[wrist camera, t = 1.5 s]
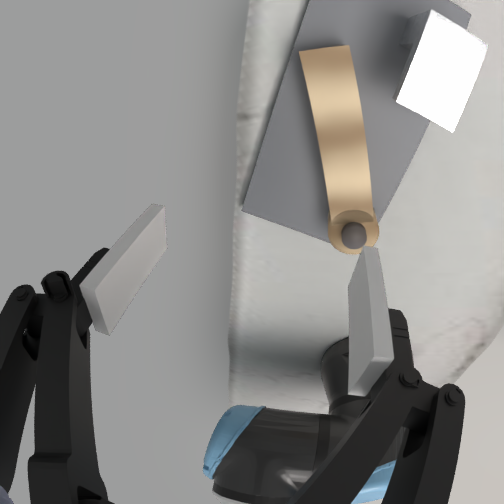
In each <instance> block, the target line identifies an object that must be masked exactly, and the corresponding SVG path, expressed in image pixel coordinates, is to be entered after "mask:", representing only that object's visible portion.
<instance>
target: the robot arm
mask: <svg viewBox="0 0 504 504" xmlns="http://www.w3.org/2000/svg"><path fill="white" fill-rule="evenodd" d="M166 250H167V237H166V220H165V206H162V205H156V204H151V205H150V206H149V207H148V208H147V210H146V211H145V212H144V213H143V214H142V215H141V216H140V217H139V218H138V219H137V220H136V221H135V222H134V223H133V224H132V225H131V226H130V228H129V229H128V230H127V231H126V232H125V233H124V234H123V235H122V236H121V238H120V239H119V240H118V241H117V242H116V243H115V244H114V245H113V246H112V248H111V249H108V248H102V249H101V250H99V251H97V252H96V253H94V255H93V256H92V257H91V258H90V259H89V261H87V262H86V264H85V265H84V267H82V268H81V269H80V271H79V272H78V273H77V274H76V275H75V276H74V277H73V279H72V280H71V281H70V278H69V275H68V274H67V273H66V272H64V271H54V272H51V273H49V274H48V275H46V276H45V277H44V278H43V280H42V282H41V284H42V287H43V290H44V292H45V294H36V293H35V291H34V289H33V287H32V286H31V285H21V286H18V287H17V288H16V289H14V290H13V292H12V293H11V295H10V296H9V298H8V300H7V302H6V304H5V306H4V308H3V310H2V311H1V314H0V504H14V503H13V501H12V500H11V499H10V498H9V496H8V492H9V490H10V488H11V485H12V482H13V478H14V474H15V468H16V463H17V458H18V453H19V447H20V443H21V437H22V434H23V429H24V425H25V421H26V417H27V413H28V409H29V405H30V402H31V398H32V394H33V391H34V387H35V384H36V389H35V417H34V419H35V420H34V429H35V430H34V433H35V435H34V436H35V452H34V455H32V456H31V457H30V458H29V460H28V481H29V492H30V500H31V504H114V503H112V502H110V501H108V496H107V492H106V487H105V485H104V482H103V481H102V478H101V477H100V473H99V468H98V461H97V453H96V446H95V437H94V427H93V416H92V401H91V382H90V381H91V379H90V332H89V329H88V328H89V326H90V325H91V324H92V322H93V325H94V327H95V330H96V331H98V332H101V333H104V334H106V335H109V336H110V334H111V333H112V331H113V330H114V328H115V327H116V325H117V323H118V322H119V320H120V319H121V317H122V315H123V314H124V312H125V311H126V309H127V308H128V306H129V304H130V303H131V302H132V300H133V298H134V297H135V295H136V294H137V292H138V291H139V289H140V288H141V286H142V285H143V283H144V282H145V280H146V279H147V277H148V276H149V274H150V273H151V271H152V270H153V268H154V267H155V266H156V264H157V263H158V261H159V260H160V258H161V257H162V255H163V254H164V253H165V251H166ZM348 298H349V338H347V339H344V340H342V341H340V342H338V343H336V344H335V345H333V346H332V347H331V348H329V349H328V350H327V352H326V353H325V354H324V356H323V359H322V366H321V377H322V381H323V384H324V388H325V391H326V394H327V398H328V401H329V415H328V414H316V413H305V412H295V411H287V410H279V409H271V408H266V407H265V406H261V407H255V406H246V405H236V406H233V407H231V408H230V409H228V410H227V411H226V412H225V413H224V415H223V416H222V417H221V419H220V420H219V422H218V424H217V426H216V428H215V430H214V432H213V434H212V436H211V439H210V441H209V444H208V447H207V450H206V454H205V458H204V467H203V472H204V474H205V475H206V476H207V477H209V478H210V479H214V485H213V490H212V491H213V494H214V495H215V496H216V497H217V499H218V500H219V501H220V503H221V504H358V503H364V502H369V501H374V500H378V499H382V498H383V501H382V503H381V504H448V500H449V496H450V492H451V488H452V484H453V480H454V475H455V470H456V465H457V460H458V454H459V448H460V442H461V435H462V428H463V419H464V409H465V396H464V394H463V392H462V390H461V389H459V387H458V386H456V385H454V384H445V385H443V386H442V387H441V388H437V387H435V386H433V385H430V384H428V383H426V382H424V381H423V380H422V376H421V375H420V373H419V371H417V370H416V369H415V368H414V362H413V354H412V350H411V344H410V339H409V332H408V326H407V320H406V318H405V317H404V315H403V313H402V312H401V311H400V310H395V309H389V308H388V305H387V298H386V292H385V286H384V280H383V274H382V268H381V263H380V257H379V252H378V248H374V247H369V246H365V245H363V248H362V251H361V254H360V256H359V259H358V262H357V264H356V267H355V270H354V272H353V275H352V278H351V280H350V283H349V285H348ZM24 331H25V332H24ZM23 333H24V334H23Z"/></svg>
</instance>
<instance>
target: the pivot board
mask: <svg viewBox="0 0 504 504" xmlns="http://www.w3.org/2000/svg"><path fill="white" fill-rule="evenodd" d="M431 9H432V10H434V11H435V12H437V13H439V14H441V15H442V16H444V17H446V18H447V19H449V20H451V21H452V22H454V23H456V24H457V25H459V26H460V27H462V28H464V29H465V30H466V29H467V26H468V23H469V20H470V17H471V14H470V13H468V12H467V11H465V10H464V9H462V8H460V7H459V6H457V5H456V4H454V3H452V2H451V1H449V0H310V1H309V3H308V6H307V9H306V12H305V15H304V18H303V21H302V24H301V27H300V30H299V33H298V36H297V39H296V41H295V44H294V47H293V50H292V53H291V56H290V59H289V62H288V65H287V68H286V71H285V74H284V78H283V81H282V84H281V87H280V90H279V93H278V96H277V99H276V102H275V105H274V108H273V111H272V114H271V118H270V121H269V124H268V127H267V130H266V133H265V136H264V140H263V143H262V146H261V149H260V152H259V156H258V159H257V162H256V165H255V168H254V172H253V175H252V178H251V181H250V185H249V188H248V191H247V194H246V198H245V201H244V204H243V208H242V211H243V212H246V213H248V214H251V215H254V216H257V217H260V218H263V219H266V220H268V221H271V222H274V223H277V224H280V225H282V226H285V227H288V228H291V229H293V230H296V231H299V232H302V233H304V234H307V235H310V236H313V237H315V238H318V239H321V240H323V241H326V242H329V243H331V242H330V240H329V237H328V213H329V210H330V208H329V201H328V195H327V188H326V182H325V176H324V170H323V164H322V159H321V153H320V147H319V142H318V137H317V132H316V127H315V122H314V117H313V112H312V107H311V102H310V98H309V93H308V89H307V84H306V80H305V76H304V71H303V67H302V63H301V59H300V55H299V52H300V51H306V50H312V49H319V48H327V47H335V46H343V45H349V47H350V52H351V56H352V61H353V66H354V71H355V76H356V81H357V86H358V92H359V97H360V103H361V109H362V116H363V122H364V129H365V137H366V144H367V152H368V161H369V170H370V180H371V192H372V204H373V208H374V211H375V214H376V218H377V222H378V223H379V221H380V219H381V218H382V216H383V214H384V212H385V210H386V208H387V207H388V205H389V203H390V201H391V199H392V197H393V195H394V194H395V192H396V190H397V188H398V186H399V184H400V182H401V180H402V178H403V176H404V174H405V172H406V170H407V168H408V166H409V164H410V162H411V160H412V158H413V156H414V154H415V152H416V150H417V148H418V146H419V144H420V142H421V140H422V138H423V135H424V133H425V131H426V129H427V127H428V125H429V122H430V119H428V118H427V117H425V116H423V115H421V114H419V113H417V112H415V111H414V110H412V109H410V108H408V107H406V106H404V105H402V104H400V103H398V102H396V101H394V100H393V99H392V97H393V94H394V92H395V89H396V87H397V85H398V82H399V80H400V77H401V75H402V72H403V70H404V67H405V64H406V62H407V59H408V57H409V54H410V51H411V50H409V49H407V48H405V47H403V46H401V45H399V42H400V39H401V37H402V34H403V31H404V28H405V26H406V23H407V20H408V18H409V17H411V16H414V15H417V14H420V13H422V12H425V11H428V10H431ZM360 254H361V253H360Z"/></svg>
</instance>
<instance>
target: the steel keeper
mask: <svg viewBox="0 0 504 504" xmlns="http://www.w3.org/2000/svg"><path fill="white" fill-rule="evenodd" d="M399 45H401V46H403V47H405V48H407V49H409V50H411V51H410V54H409V57H408V59H407V62H406V64H405V67H404V70H403V72H402V75H401V77H400V80H399V82H398V85H397V87H396V89H395V92H394V94H393V97H392V99H393V100H394V101H396V102H398V103H400V104H402V105H404V106H406V107H408V108H410V109H412V110H414V111H415V112H417V113H419V114H421V115H423V116H425V117H427V118H428V119H430V120H432V121H434V122H436V123H437V124H439V125H441V126H442V127H444V128H446V129H448V130H449V131H451V132H453V131H454V129H455V127H456V124H457V122H458V120H459V118H460V116H461V113H462V111H463V109H464V106H465V104H466V102H467V99H468V97H469V95H470V92H471V90H472V87H473V85H474V82H475V80H476V77H477V75H478V72H479V70H480V67H481V64H482V61H483V59H484V56H485V53H486V50H487V47H488V45H487V44H485V43H484V42H483V41H481V40H480V39H478V38H477V37H476V36H474V35H473V34H471V33H470V32H468V31H467V30H465V29H464V28H462V27H460V26H459V25H457V24H456V23H454V22H452V21H451V20H449V19H447V18H446V17H444V16H442V15H441V14H439V13H437V12H435V11H434V10H432V9H431V10H428V11H425V12H422V13H420V14H417V15H414V16H411V17H409V18H408V20H407V23H406V26H405V28H404V31H403V34H402V37H401V39H400V42H399Z"/></svg>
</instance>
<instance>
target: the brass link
mask: <svg viewBox="0 0 504 504" xmlns="http://www.w3.org/2000/svg"><path fill="white" fill-rule="evenodd" d="M299 55H300V59H301V63H302V67H303V71H304V76H305V80H306V84H307V89H308V93H309V98H310V102H311V107H312V112H313V117H314V122H315V127H316V132H317V137H318V142H319V147H320V153H321V159H322V164H323V170H324V176H325V182H326V188H327V195H328V201H329V208H330V210H329V213H328V237H329V240H330V242H331V244H332V245H333V246H334V247H335V248H336V249H337V250H339V251H340V252H343V253H346V254H360V253H361V251H362V248H363V245H365V246H369V247H373V246H374V244H375V243H376V241H377V239H378V237H379V226H378V222H377V218H376V214H375V211H374V208H373V204H372V192H371V180H370V170H369V161H368V152H367V144H366V137H365V129H364V122H363V116H362V109H361V103H360V97H359V92H358V86H357V81H356V76H355V71H354V66H353V61H352V56H351V52H350V47H349V45H343V46H335V47H327V48H319V49H312V50H306V51H300V52H299Z"/></svg>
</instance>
